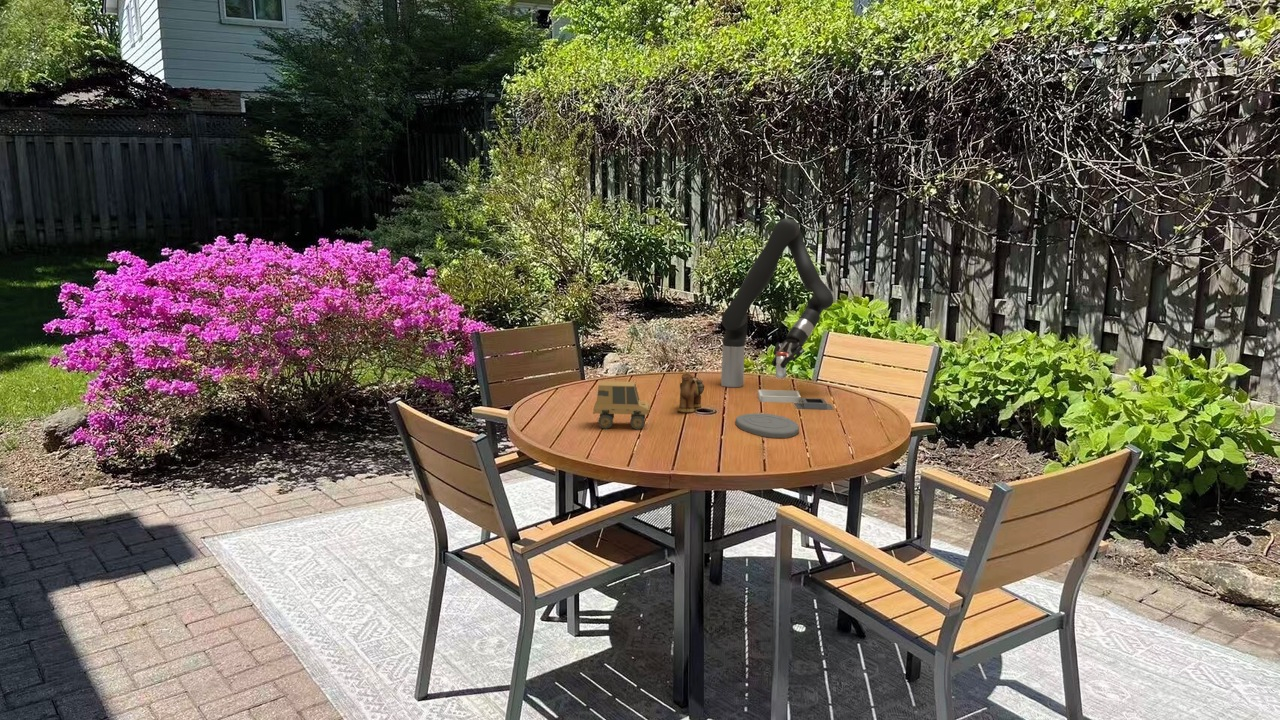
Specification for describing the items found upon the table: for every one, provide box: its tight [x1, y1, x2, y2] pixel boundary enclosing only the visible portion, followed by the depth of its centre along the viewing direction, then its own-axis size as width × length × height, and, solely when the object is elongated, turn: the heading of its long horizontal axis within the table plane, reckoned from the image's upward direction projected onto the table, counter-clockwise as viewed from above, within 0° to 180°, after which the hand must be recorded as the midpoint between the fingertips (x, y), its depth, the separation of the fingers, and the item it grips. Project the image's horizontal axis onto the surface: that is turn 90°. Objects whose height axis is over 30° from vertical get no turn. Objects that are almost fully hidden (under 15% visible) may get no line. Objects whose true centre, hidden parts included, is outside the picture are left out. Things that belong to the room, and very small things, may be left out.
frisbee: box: [735, 412, 800, 439], centre depth 306 cm, size 20×27×3 cm
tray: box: [757, 389, 802, 404], centre depth 346 cm, size 16×12×3 cm
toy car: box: [593, 380, 650, 430], centre depth 304 cm, size 10×19×15 cm, turn 89°
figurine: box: [677, 372, 705, 414], centre depth 327 cm, size 9×15×15 cm, turn 159°
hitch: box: [793, 397, 835, 411], centre depth 334 cm, size 14×9×3 cm, turn 87°
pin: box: [775, 351, 787, 379], centre depth 343 cm, size 4×4×10 cm
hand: (777, 365), depth 342 cm, fingers closed on pin, 4 cm apart
